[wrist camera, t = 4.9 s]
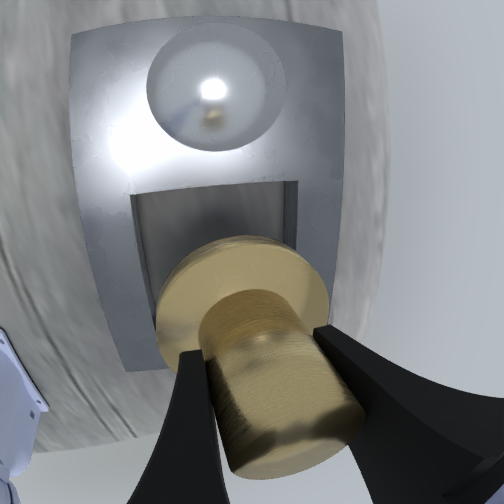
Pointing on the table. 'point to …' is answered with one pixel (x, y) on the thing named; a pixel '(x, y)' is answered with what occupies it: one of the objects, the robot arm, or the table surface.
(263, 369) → the gold flanged round piece
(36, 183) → the table surface
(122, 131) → the carrier plate
